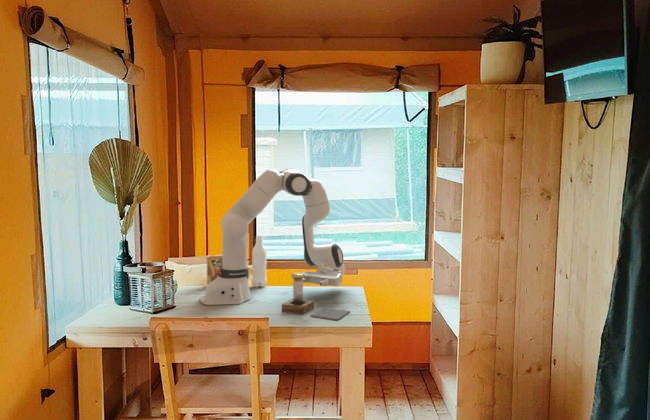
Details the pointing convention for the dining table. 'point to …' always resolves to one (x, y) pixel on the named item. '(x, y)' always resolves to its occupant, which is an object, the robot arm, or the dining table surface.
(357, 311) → the dining table surface
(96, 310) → the dining table surface
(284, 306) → the socket block
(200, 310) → the dining table surface
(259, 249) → the water bottle
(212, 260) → the candy box
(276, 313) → the dining table surface
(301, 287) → the steel peg
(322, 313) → the rubber mat
